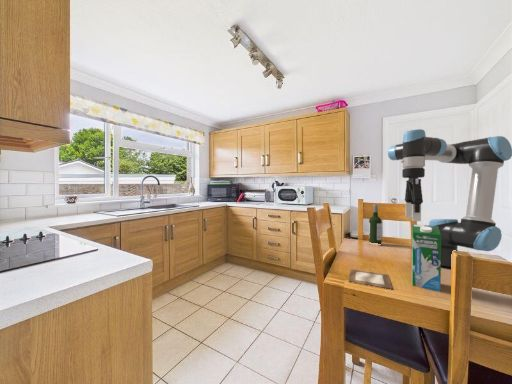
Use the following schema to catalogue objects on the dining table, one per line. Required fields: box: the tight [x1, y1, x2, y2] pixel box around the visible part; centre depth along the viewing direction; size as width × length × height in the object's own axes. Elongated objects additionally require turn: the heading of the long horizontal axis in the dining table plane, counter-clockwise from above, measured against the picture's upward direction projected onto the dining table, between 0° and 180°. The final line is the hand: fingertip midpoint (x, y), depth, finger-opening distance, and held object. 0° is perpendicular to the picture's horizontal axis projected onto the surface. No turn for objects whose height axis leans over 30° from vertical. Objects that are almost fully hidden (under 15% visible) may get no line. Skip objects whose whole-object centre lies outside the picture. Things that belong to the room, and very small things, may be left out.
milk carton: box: [411, 223, 442, 292], centre depth 92 cm, size 9×9×25 cm
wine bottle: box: [368, 204, 383, 244], centre depth 156 cm, size 8×8×30 cm
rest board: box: [348, 268, 393, 290], centre depth 98 cm, size 16×16×1 cm
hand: (412, 219), depth 90 cm, fingers open, 13 cm apart
